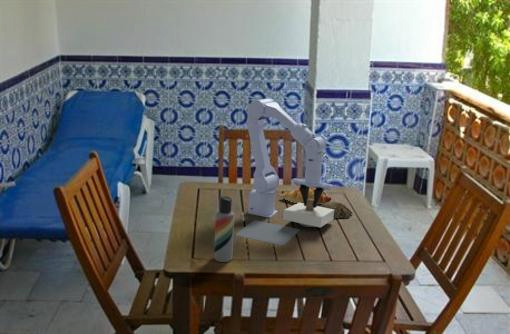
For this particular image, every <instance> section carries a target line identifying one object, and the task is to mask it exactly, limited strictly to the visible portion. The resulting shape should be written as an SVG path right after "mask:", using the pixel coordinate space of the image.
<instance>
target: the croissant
mask: <svg viewBox="0 0 510 334" xmlns="http://www.w3.org/2000/svg"><path fill="white" fill-rule="evenodd" d="M314 190H315V188H313V187H310V188H309V193H308V199H314ZM279 198H280V199H281V198H283V199H285V200H288V201H292V202H295V203H304V202H303V197H302V194H301V192H300V190H299V189H294V190H292V191H287V192H285V193H281V194H280V195H279ZM283 199H282V200H283ZM285 200H284V201H285ZM288 201H287V202H288ZM292 202H291V203H292ZM326 202H327V203H328V202H332V197H331V196H328V195H326V194H323V193H322V194H321V196H320V198H319V201H318V203H326ZM295 203H294V204H295Z"/></svg>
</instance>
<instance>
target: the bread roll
mask: <svg viewBox="0 0 510 334" xmlns="http://www.w3.org/2000/svg"><path fill="white" fill-rule="evenodd" d="M319 207H324V208H329V209H334V218H337V219H345V218H348V217H350V215H351V214H352V215H353V211H352V210H351V209H349V207H347V206H346V205H345V204H343V202H342V203H341V202H336V201H329V202H327V203H323V204H320V206H319ZM352 215H351V216H352ZM334 218H333V219H334ZM350 218H351V217H350Z"/></svg>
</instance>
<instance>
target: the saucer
mask: <svg viewBox="0 0 510 334" xmlns="http://www.w3.org/2000/svg"><path fill="white" fill-rule="evenodd" d="M298 224H299V225H300V226H302V227H306V228H316V226H311V225H306V224H302V223H298Z"/></svg>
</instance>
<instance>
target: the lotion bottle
mask: <svg viewBox="0 0 510 334" xmlns="http://www.w3.org/2000/svg"><path fill="white" fill-rule="evenodd" d="M218 201H219V202H218V210H217V211H216V212H215V215H214V216H215V219H214V221H215V222H214V223H215V224H214V245H213V246H214V247H213V248H214V249H213V250H214V251H213V258H214V260H215V261H217V262H220V263H226V262H231V261H232V259H233V248H234V229H235V212H234V211H232V206H233V203H232V201H233V199H232V198H231V197H230V196H227V195H225V196H223V195H221V196H220V197H219V199H218Z"/></svg>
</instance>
